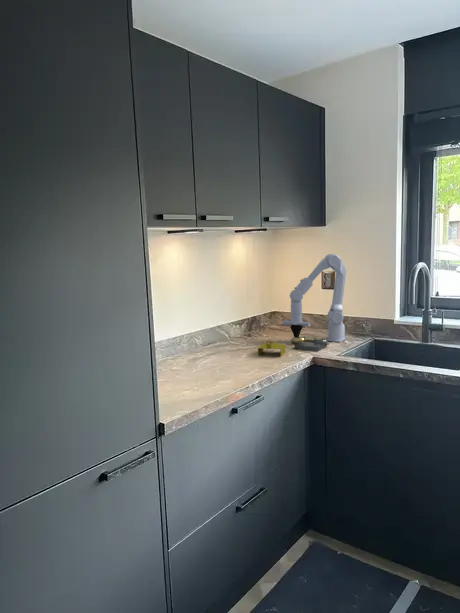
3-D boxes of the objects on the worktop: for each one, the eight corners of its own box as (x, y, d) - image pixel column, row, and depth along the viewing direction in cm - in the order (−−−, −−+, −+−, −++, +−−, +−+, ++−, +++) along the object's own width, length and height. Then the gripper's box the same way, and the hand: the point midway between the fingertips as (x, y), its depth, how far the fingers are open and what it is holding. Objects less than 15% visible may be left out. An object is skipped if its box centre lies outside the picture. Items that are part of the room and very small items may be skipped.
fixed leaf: (294, 348, 218) (294, 341, 218) (304, 344, 228) (304, 337, 228) (320, 351, 211) (320, 344, 211) (329, 346, 221) (329, 339, 220)
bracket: (292, 335, 216) (285, 341, 201) (292, 351, 217) (286, 358, 202) (260, 334, 220) (251, 340, 206) (260, 349, 221) (252, 357, 207)
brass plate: (289, 343, 229) (289, 337, 229) (299, 339, 239) (299, 333, 238) (314, 346, 222) (314, 339, 221) (323, 341, 231) (323, 335, 231)
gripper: (280, 313, 234) (280, 339, 236) (306, 315, 226) (306, 342, 228) (286, 311, 240) (286, 337, 242) (312, 313, 232) (312, 339, 234)
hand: (296, 339), depth 235 cm, fingers closed
